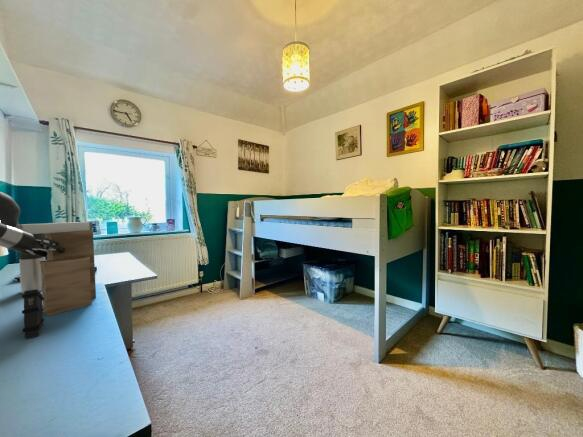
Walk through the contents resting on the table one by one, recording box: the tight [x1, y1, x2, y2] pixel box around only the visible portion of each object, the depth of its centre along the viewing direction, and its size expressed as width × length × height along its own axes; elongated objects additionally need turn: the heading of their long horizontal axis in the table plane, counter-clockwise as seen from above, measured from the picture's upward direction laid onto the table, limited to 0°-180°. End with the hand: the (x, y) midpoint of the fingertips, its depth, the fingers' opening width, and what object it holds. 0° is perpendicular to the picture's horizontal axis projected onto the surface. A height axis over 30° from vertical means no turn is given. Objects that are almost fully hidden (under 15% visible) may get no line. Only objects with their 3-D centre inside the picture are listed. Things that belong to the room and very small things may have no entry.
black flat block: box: [21, 289, 45, 340], centre depth 84 cm, size 4×13×15 cm, turn 40°
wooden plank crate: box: [40, 229, 97, 317], centre depth 108 cm, size 21×18×32 cm
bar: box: [16, 221, 94, 234], centre depth 108 cm, size 4×24×4 cm, turn 144°
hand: (55, 253), depth 106 cm, fingers open, 8 cm apart
